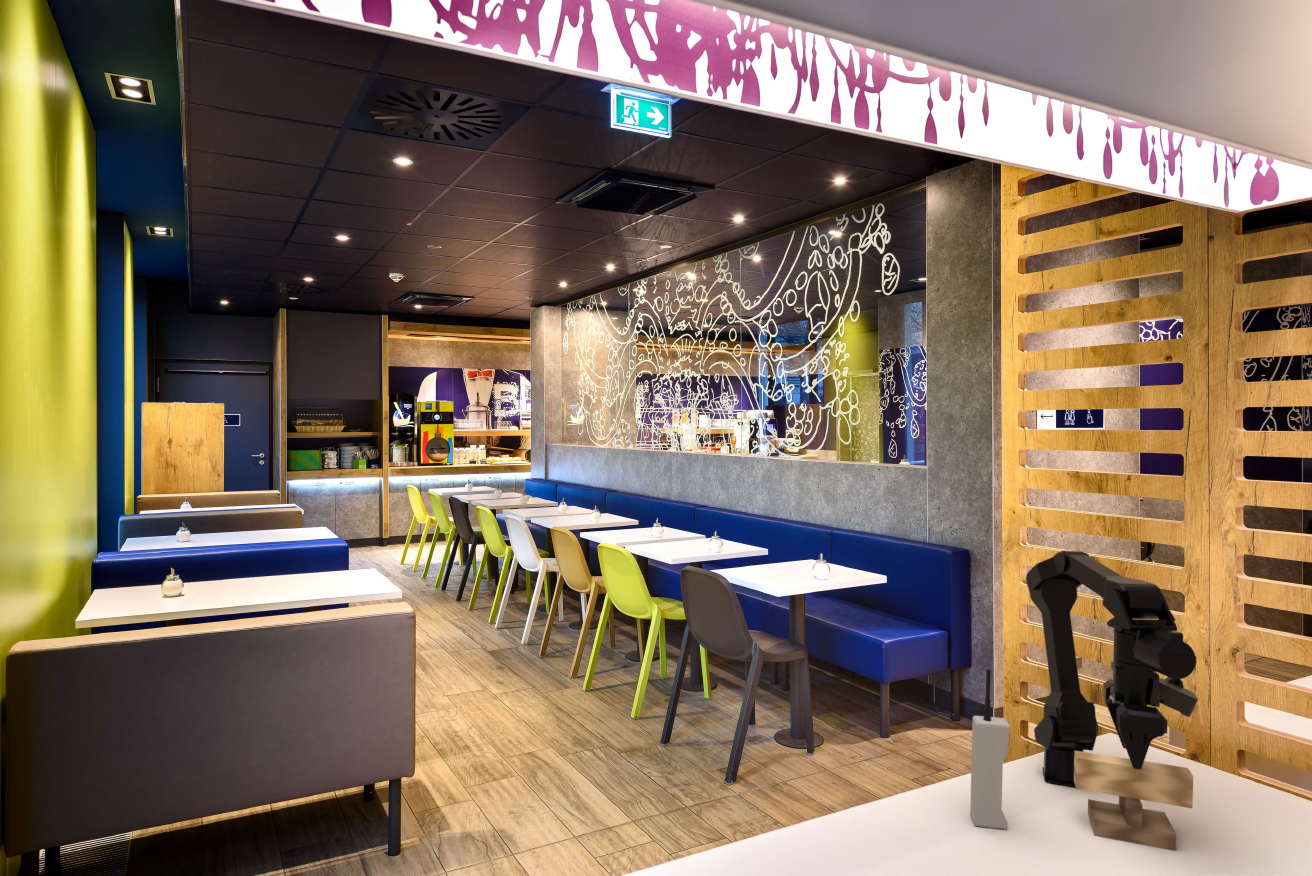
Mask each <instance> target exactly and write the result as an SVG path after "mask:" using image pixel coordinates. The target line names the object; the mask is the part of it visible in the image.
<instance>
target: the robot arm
mask: <svg viewBox="0 0 1312 876" xmlns="http://www.w3.org/2000/svg"><path fill="white" fill-rule="evenodd" d="M1025 581H1026V582H1025V583H1026V586H1027V588H1028V592H1029V596H1030V599H1031V601H1032V603H1033V604H1034V605H1035V607H1036V608H1037V609H1038V610H1039V612H1040V613H1041V619H1042V626H1043V635H1044V636H1043V637H1044V643H1045V644H1044V645H1045V650H1046V651H1045V652H1046V659H1047V667H1048V668H1047V669H1048V677H1049V685H1050V693H1049V694H1048V697H1047V700H1046V701H1045V703H1044V705H1043V718H1042V719H1041V720H1040V722H1038V723H1037V725H1036V726H1035V727H1034V728H1033V732H1034V739H1035V742H1036V743H1038V744H1039V745H1040V746H1042V747H1043V766H1042V767H1041V768H1042V770H1041V771H1042V774H1043V780H1044V782H1046V783H1050V784H1057V785H1063V786H1068V787H1073V788H1076V786H1075V783H1074V752H1075V751H1081V752H1085V751H1093V750H1094V748H1095V744H1096V741H1097V736H1098V733H1099V724H1098V721H1097V716H1096V706H1095V705H1094V703H1093V702H1092V701H1088V700H1087V699H1086V696H1084V695H1083V693H1082V691H1081V686H1080V684H1081V683H1080V676H1079V671H1078V670H1079V669H1078V663H1077V654H1076V649H1075V648H1076V646H1075V641H1074V640H1075V638H1074V633H1073V625H1072V617H1071V611H1072V609H1073V608H1074V606H1075V604H1076V601H1077V600H1078V588H1079V587H1080V586H1082V585H1083V586H1085V587H1086V588H1088V589H1089V590H1091V591H1092V592H1094V593H1095V594H1096V595H1098V596H1100V597H1101V598H1102V606H1103V607H1104V608H1105V609H1106V610H1107V611H1108V612H1109V613H1110V614H1111V615H1112V616H1113V617H1112V618H1110V619H1109V620H1108V621H1107V622H1106V625H1107V627H1110V628H1113V649H1112V650H1113V653H1112V655H1113V659H1112V661H1110V668H1111V670H1112V679H1108V680H1107V681H1104V683H1103V684H1102V695H1103V697H1104V702H1105V705H1106V707H1107V710H1108V712H1109V714H1110V718H1111V720H1112V722H1113V725H1114V728H1115V730H1116V732H1117V736H1118V738H1119V741H1120V743H1121V746H1122V749H1125V750H1126V753H1127V755H1128V759H1130V761H1131V764H1132V766H1133V768H1134V769H1142V766H1143V763H1144V761H1146V760H1145V759H1146V756H1147V755H1148V750H1149V748H1150V745H1151V743H1152V741H1153V740H1155V739H1157V738H1159V737H1163V736H1164V735H1165V734H1168V719H1167V718H1166V717H1165V716H1164V714H1163V713H1162V712H1161V711H1160V710H1159V709H1158V708H1160V705H1161V704H1162V705H1163V706H1165V707H1167V708H1170V709H1172V710H1175V711H1177V712H1180V714H1181V715H1183V716H1185V717H1188V718H1190V717H1191V716H1192V714H1193V711H1194V710H1195V707H1196V705H1197V704H1198V702H1199V697H1197V696H1196V695H1195V694H1194V693H1193V692H1192V691H1190V690H1189V689H1187V688H1184V681H1183V679H1185V678H1187V677H1189V676H1190V675H1191V674H1192V673H1193V672H1194V670H1195V668H1196V666H1197V655H1196V653H1195V651H1194V650H1193V647H1191V646H1190V644H1188V643H1186V642H1185V641H1184V633H1182V632H1181V631H1178V627H1177V623H1176V618H1175V616H1174V614H1173V613H1172V612H1171V609H1170V608H1169V605H1168V602H1167V601H1166V598H1165V596H1164V594H1163V593H1162V590H1161V589H1160V587H1159V586H1158V585H1156V584H1155V583H1152V582H1149V581H1146V580H1142V579H1137V578H1131V577H1126V576H1124V575H1122V574H1119V573H1118V572H1116V571H1115V570H1112V569H1111V568H1110V567H1108V566H1106V565H1104V564H1102V563H1101V562H1099V561H1097V560H1095V559H1094V558H1092V557H1091V556H1090V555H1089V554H1088V553H1087V552H1084V551H1081V550H1061V551H1058V552H1057V553H1055V554H1054V555H1053V556H1052V557H1050V558H1047V559H1045V560H1043V561H1040V562H1038V563H1036V564H1035V565H1033V566H1032V568H1031V569H1030V570H1028V572H1027V574H1026V577H1025ZM1160 675H1163V676H1166V677H1165V678H1162V677H1160Z"/></svg>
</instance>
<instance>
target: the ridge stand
mask: <svg viewBox="0 0 1312 876" xmlns="http://www.w3.org/2000/svg"><path fill="white" fill-rule="evenodd" d="M1087 815H1088V820H1089V822H1090V825H1091V828H1092V832H1093V836H1095V837H1101V838H1108V839H1111V840H1112V839H1113V840H1117V841H1122V842H1123V841H1124V842H1128V843H1134V844H1138V845H1144V846H1150V847H1155V848H1160V849H1165V850H1171V851H1176V849H1177V846H1176V845H1177V833H1176V832H1175V829H1174V828H1173V825H1172V823H1171V822H1170V820H1169V818H1168V816H1167V814H1166V812H1165V811H1161V810H1160V811H1159V810H1154V809H1148V808H1143V803H1142V800H1139V799H1133V798H1127V797H1122V796H1118V803H1112V802H1107V801H1102V800H1097V799H1096V800H1095V799H1090V798H1088V799H1087Z"/></svg>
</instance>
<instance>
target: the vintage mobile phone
mask: <svg viewBox="0 0 1312 876" xmlns="http://www.w3.org/2000/svg"><path fill="white" fill-rule="evenodd" d="M985 677H986V680H985V698H984V714H983V716H982V715H973V716H972V722H971V724H972V725H971V726H972V731H971V732H972V733H971V735H972V736H971V765H970V766H971V768H970V770H971V771H970V773H971V775H970V810H969V811H970V817H971V820H972V822H973V824H974V826H975V827H977V826H979V828H986V827H988V829H994V828H1000V829H999V830H1003V829H1006V830H1008V821H1007V819H1006V816H1005V814H1004V812H1003V810H1002V807H1003V765H1004V761H1005V758H1006V757H1007V755H1008V745H1009V738H1010V730H1011V729H1010V728H1011V725H1010V724H1009V722H1008V721H1007V719H1006V718H1005V717H995V716H994V717H993V716H991V702H992V701H991V669H989V668H987V669H986V676H985Z"/></svg>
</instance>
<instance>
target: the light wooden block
mask: <svg viewBox="0 0 1312 876" xmlns="http://www.w3.org/2000/svg"><path fill="white" fill-rule="evenodd" d="M1074 783H1075V786H1076V787H1075V789H1076V790H1081V791H1086V792H1093V793H1098V794H1105V795H1110V796H1111V795H1112V796H1116V797H1119V796H1122V797H1127V798H1133V799H1139V800H1140V801H1147V802H1152V803H1158V804H1162V805H1163V804H1164V805H1170V806H1177V807H1181V808H1187V809H1194V806H1193V805H1194V775H1193V773H1192V772H1191V770H1190V769H1189V767H1185V766H1178V765H1172V764H1165V763H1158V762H1153V761H1146V760H1144V763H1143V766H1142V769H1134V768H1133V766H1132V764H1131V761H1130V758H1125V757H1120V756H1113V755H1108V754H1107V755H1106V754H1101V753H1093V752H1087V751H1084V752H1081V751H1075V752H1074Z"/></svg>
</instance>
